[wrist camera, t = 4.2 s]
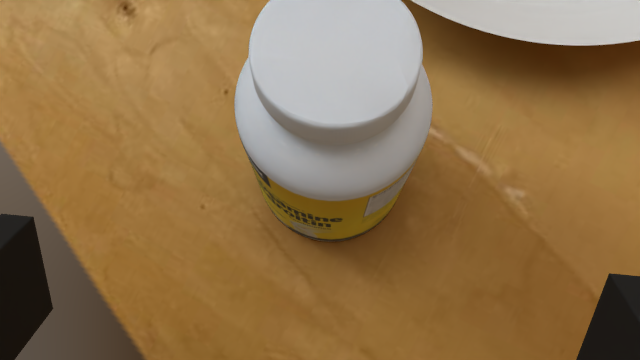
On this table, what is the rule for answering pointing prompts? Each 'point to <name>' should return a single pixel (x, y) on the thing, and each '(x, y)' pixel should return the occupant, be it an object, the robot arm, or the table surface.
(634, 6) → the white plate
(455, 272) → the table surface
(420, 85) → the pill bottle
